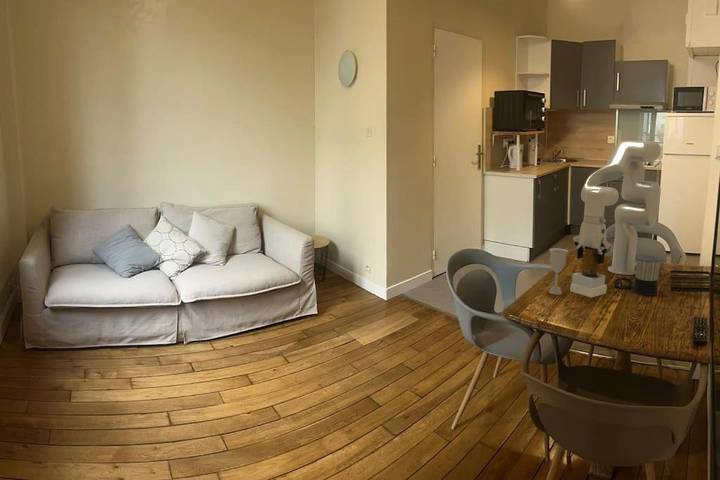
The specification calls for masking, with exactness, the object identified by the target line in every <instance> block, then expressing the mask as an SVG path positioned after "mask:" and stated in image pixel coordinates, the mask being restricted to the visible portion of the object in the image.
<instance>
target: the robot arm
mask: <svg viewBox="0 0 720 480" xmlns="http://www.w3.org/2000/svg"><path fill="white" fill-rule="evenodd" d="M661 149H662V148H661V146H660V144H659V142H658V141H652V140H651V141H650V140H635V139H634V140H631V139H630V140H623V141H619V142H617V143H616V144H615V146H614V147H613V150H612V152H611V153H610V155H609V158H608V160H607V162H606V163H605V165H604V166H602V167H601V168H599V169H597V170H596V171H594V172H593V173H591V174H590V175H589V176H588V177H587V179H586V181H585V183H584V185H583V187H582V188H581V192H580V199H581V200H582V202H583V203H584V211H583V212H584V213H583V221H582V223H581V225H580V228H579V233H578V235H576V236H573V237H572V239H573V243H574V245H575V247H576V248H575V249H576V251H577V253H576V259H583V258H582V257H583V252H584V249H585V246H587V247H591V248H594V249H597V250H598V261H597V263H598V265H601V264H604V262H605V257H606V256H605V254H607V253H608V252H609V251H610V249H611V247H612V244H611V243H610V242H609V241H607V227H606V224H605V223H606V222H607V220H606V219H605V208H606V207H610V206H614V205H615V204H617V202H618V200H619V191H618V190H617V189H616V188H614V187H611V186H610V187H609V186H604V185H603V186H601V184H603V183H607V182H611V181H614V180H618V179H621V178H622V185H621V191H620V192H621V194H620V196H621V198H622V199H623V200H624V201H629V202H636V203H645V205H641V204H634V203H621V204H619V205H617V206H616V208H615V209H614V226H615V227H614V229H615V230H614V239H613V240H614V241H613V251H612V261H611V265H610V266H608V267H607V271H608V272H610V273H612V274H616V275H622V276H633V275H634V276H635V275H636V268H635V267H637V260H636V254H637V245H638V244H637V243H638V233H637V230H636V229H635V227H640V228H646V229H647V228H653V227H655V225H656V224H657V220H658V214H659V207H660V202H661V201H660V200H661V193H662V192H661V186H660V184H659V183H658V182H656V181H651V180H649V181H647V180H645V173H646V168H645V165H644V164H643V163H651V162H655V161H656V160H658V158H659V157H660V155H661ZM599 185H600V186H599Z"/></svg>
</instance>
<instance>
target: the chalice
mask: <svg viewBox="0 0 720 480" xmlns="http://www.w3.org/2000/svg"><path fill="white" fill-rule="evenodd" d="M549 252H550V254H549V255H550V256H549V263H550V266H551V269H552V271H553V272H554V273H555V275H554V281H553V282H554V285H553V286H551V287H550V289H549V291H548V293H549V294H551V295H555V296H556V295H562V294H563V292H562V288H561V287H560V286H558V283H559V282H560V281H559V278H560V277H559V273H562V271H563V269H564V268H565V266H566V263H567V254H568V253H569V250H568V249H564V248H558V247H557V248H555V247H554V248H553V247H552V248H549Z"/></svg>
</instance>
